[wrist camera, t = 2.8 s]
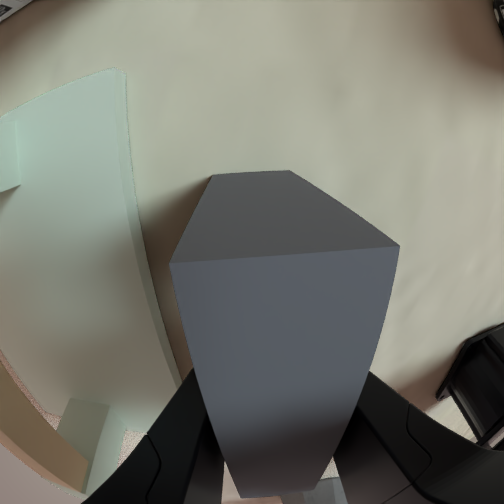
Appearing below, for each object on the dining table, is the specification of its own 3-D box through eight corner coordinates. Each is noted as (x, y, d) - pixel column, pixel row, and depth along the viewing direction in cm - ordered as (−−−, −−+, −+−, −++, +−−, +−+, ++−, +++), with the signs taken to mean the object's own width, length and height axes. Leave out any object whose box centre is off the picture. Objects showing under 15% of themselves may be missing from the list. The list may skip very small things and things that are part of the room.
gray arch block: (287, 367, 12) (313, 490, 6) (235, 371, 12) (241, 498, 6) (289, 170, 9) (399, 245, 3) (212, 174, 9) (168, 263, 3)
